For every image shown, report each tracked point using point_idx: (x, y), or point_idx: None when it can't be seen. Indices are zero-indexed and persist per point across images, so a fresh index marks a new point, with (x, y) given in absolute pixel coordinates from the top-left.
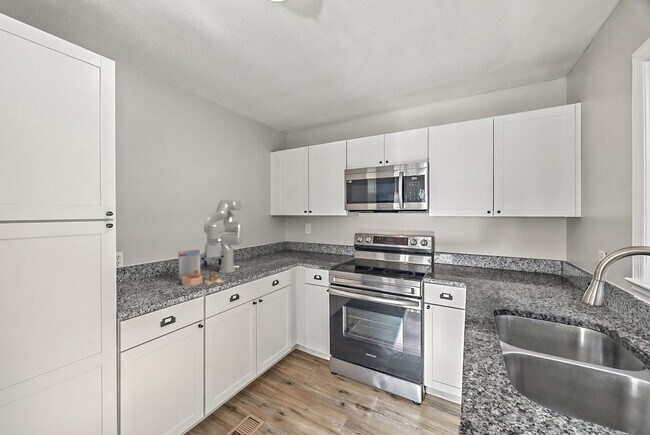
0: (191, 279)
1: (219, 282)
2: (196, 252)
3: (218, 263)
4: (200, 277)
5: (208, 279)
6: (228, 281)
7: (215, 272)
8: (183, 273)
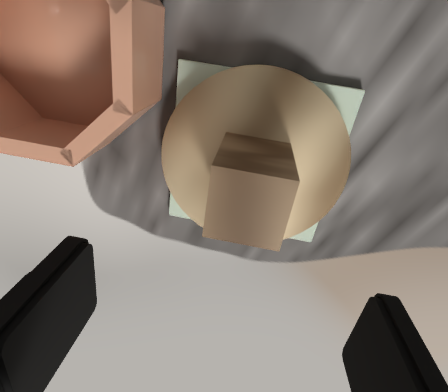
0: (2, 149)
1: None
2: None
3: (378, 315)
4: (104, 140)
5: (230, 97)
6: (357, 239)
7: (265, 236)
8: None
